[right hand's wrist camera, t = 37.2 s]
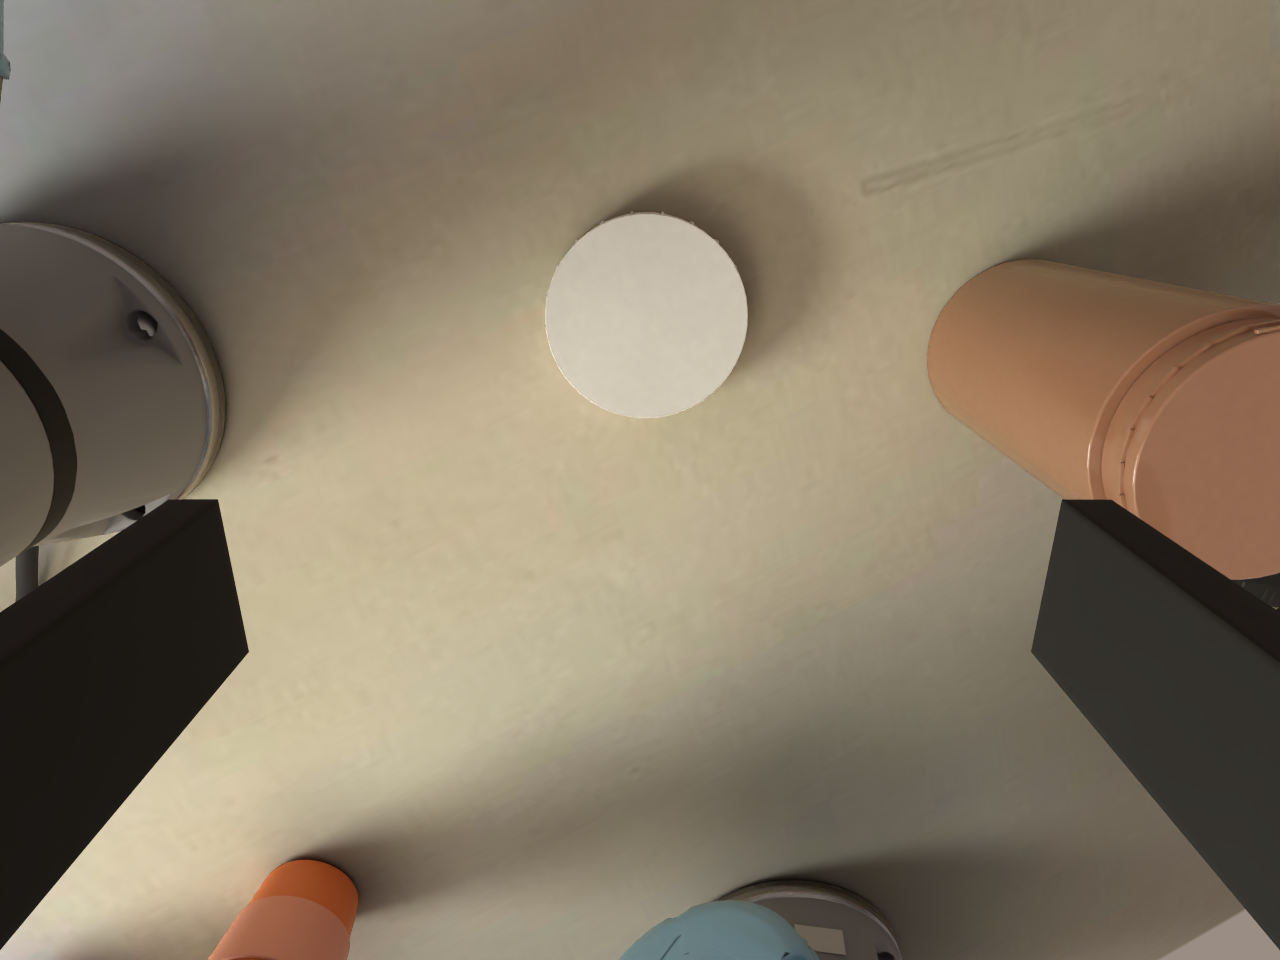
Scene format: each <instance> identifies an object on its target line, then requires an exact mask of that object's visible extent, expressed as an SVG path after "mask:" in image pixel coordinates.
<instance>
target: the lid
mask: <svg viewBox="0 0 1280 960" xmlns="http://www.w3.org/2000/svg"><path fill="white" fill-rule="evenodd" d="M600 223H601V224H599V225H598V226H596V227H595V228H593V229H591V230H590V231H589V232H587V233H586V234H585V235H584V236H583V237H581V238H578V239H576V240H575V242H576V243H575V244H574V245H573V246H572V247H571V248H570V250H569V251H568V252H567V253H566V255H565V256H564V258H563V259H562V260H561V262H559V263H558V264H557V266H556V267H557V269H556V271H555V273H554V275H553V278H552V281H551V283H550V286H549V290H548V293H547V294H546V296H547V299H546V308H545V327H546V333H547V338H548V342H549V346H550V349H551V352H552V355H553V357H554V359H555V361H556V363H557V365H558V367H559V369H560V370H561V372H562V373H563V375H564V376H565V378H566V379H567V380H568V381H569V383H570V384H571V385H572V386H573V387H574V388H575V389H576V390H577V391H578V392H579V393H580V394H581V395H583V396H584V397H585V398H587V399H588V400H589V401H591V402H592V403H594V404H596V405H598V406H599V407H601V408H603V409H605V410H608V411H610V412H613V413H616V414H620V415H624V416H627V417H635V418H657V417H665V416H669V415H673V414H677V413H680V412H682V411H685V410H687V409H690V408H691V407H693V406H695V405H697V404H699V403H700V402H702V401H703V400H705V399H706V398H707V397H709V396H710V395H711V394H712V393H713V392H715V391H716V390H717V389H718V388H719V387H720V386H721V385H722V383H723V382H724V381H725V380H726V379H727V377H728V376H729V375H730V373H731V371H732V370H733V368H734V367H735V365H736V363H737V361H738V359H739V357H740V354H741V352H742V349H743V345H744V342H745V338H746V333H747V329H748V306H747V295H746V293H745V289H744V285H743V283H742V280H741V277H740V274H739V272H738V270H737V268H738V267H737V266H736V265H735V264H734V263H733V261H732V260H731V258H730V257H729V256H728V254H727V253H726V251H725V250H724V249H723V248H722V247H721V246H720V245H719V243H720V242H719V241H718V240H717V239H715V240H714V239H713V238H712V237H711V236H709V235H708V234H707V233H706V232H704V231H703V230H702V229H700V228H698V227H697V226H695V225H694V224H695V223H694V222H692V221H690V222H688V221H685V220H683V219H681V218H679V217H675V216H671V215H668V214H665V213H664V212H661V213H655V212H638V213H633V211H631V213H630V214H625V215H621V216H618V217H614V218H612V219H610V220H607V221H605V222H604V220H603V221H601V222H600Z"/></svg>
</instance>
